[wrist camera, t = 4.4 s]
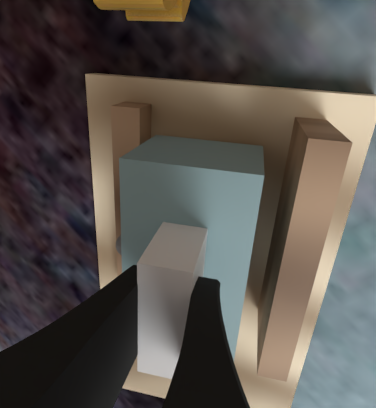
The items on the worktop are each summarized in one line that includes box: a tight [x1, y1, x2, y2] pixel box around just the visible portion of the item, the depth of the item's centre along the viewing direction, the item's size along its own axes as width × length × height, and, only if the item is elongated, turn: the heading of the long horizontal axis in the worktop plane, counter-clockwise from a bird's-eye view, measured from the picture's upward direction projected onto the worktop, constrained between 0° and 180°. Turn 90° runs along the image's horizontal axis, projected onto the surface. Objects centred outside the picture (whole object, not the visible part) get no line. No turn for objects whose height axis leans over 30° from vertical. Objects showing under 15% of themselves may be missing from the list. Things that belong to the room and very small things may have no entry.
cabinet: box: [116, 135, 264, 379], centre depth 12 cm, size 8×5×6 cm, turn 177°
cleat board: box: [85, 73, 376, 408], centre depth 16 cm, size 20×12×5 cm, turn 177°
